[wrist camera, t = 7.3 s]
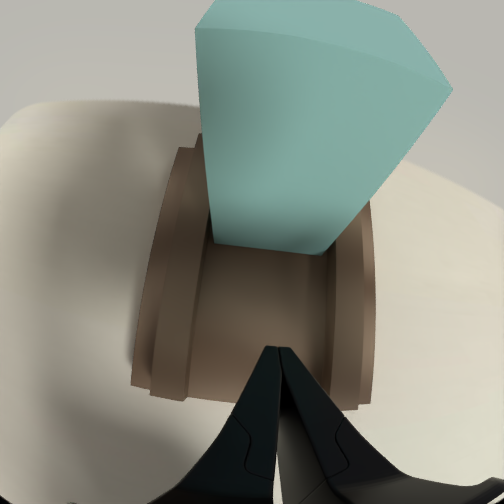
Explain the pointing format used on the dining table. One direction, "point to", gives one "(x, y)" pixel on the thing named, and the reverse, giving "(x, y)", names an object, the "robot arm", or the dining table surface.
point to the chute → (250, 303)
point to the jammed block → (306, 115)
